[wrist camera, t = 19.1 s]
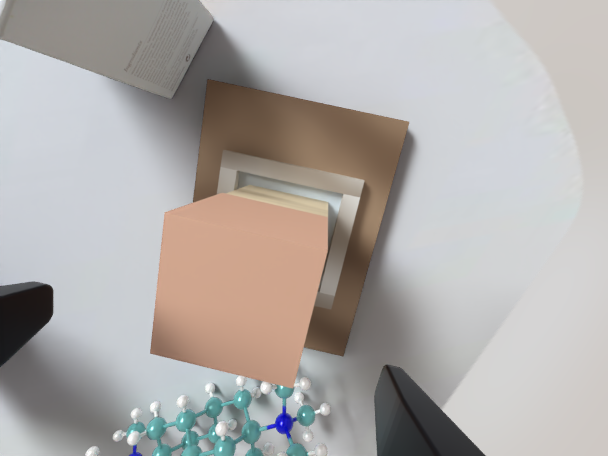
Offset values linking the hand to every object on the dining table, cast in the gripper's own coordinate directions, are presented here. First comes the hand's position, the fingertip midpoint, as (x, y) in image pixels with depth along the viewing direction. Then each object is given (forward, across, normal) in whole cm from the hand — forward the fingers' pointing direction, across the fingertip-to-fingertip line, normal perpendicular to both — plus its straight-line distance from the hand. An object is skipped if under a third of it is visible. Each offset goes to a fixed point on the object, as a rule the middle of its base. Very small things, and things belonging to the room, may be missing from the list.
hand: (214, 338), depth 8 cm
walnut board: (+13, 0, 0) cm, 13 cm away
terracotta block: (+7, 0, 0) cm, 7 cm away
